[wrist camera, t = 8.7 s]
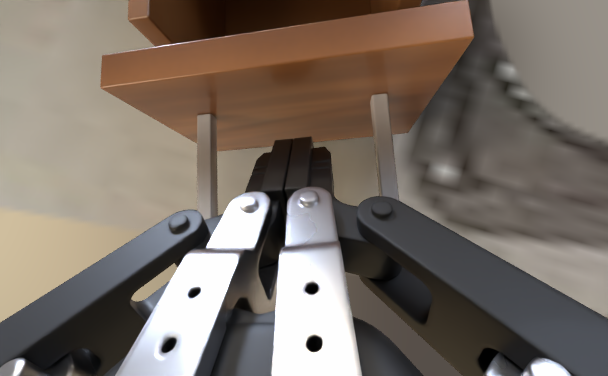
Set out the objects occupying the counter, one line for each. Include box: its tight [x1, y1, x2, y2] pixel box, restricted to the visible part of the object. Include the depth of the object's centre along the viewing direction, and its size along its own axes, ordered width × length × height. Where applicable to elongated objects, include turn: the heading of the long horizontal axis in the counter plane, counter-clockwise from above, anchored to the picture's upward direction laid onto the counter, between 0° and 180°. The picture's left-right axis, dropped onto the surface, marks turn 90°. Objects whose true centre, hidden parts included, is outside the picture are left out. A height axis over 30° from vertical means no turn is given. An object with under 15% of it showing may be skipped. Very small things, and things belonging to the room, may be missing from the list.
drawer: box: [100, 0, 474, 220], centre depth 13 cm, size 19×11×8 cm, turn 3°
